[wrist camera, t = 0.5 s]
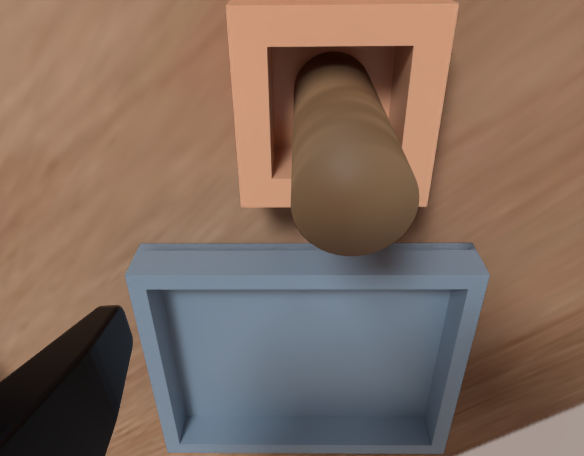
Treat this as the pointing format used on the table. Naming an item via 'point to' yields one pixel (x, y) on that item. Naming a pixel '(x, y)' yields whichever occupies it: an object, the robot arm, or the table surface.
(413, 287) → the slate tray
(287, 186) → the terracotta socket
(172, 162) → the table surface
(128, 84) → the table surface
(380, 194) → the walnut dowel
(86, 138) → the table surface
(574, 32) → the table surface
